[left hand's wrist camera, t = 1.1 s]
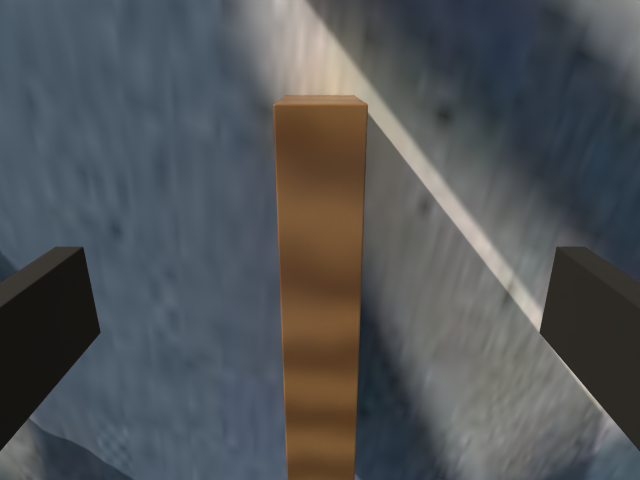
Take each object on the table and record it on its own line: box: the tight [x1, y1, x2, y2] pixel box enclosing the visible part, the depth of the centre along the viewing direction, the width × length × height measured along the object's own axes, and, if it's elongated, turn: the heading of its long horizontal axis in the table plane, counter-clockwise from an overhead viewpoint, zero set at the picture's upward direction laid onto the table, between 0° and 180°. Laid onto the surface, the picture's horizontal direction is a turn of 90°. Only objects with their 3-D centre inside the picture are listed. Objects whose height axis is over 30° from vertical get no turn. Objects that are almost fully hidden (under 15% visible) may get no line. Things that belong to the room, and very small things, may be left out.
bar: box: [273, 95, 368, 480], centre depth 31 cm, size 28×5×8 cm, turn 0°
